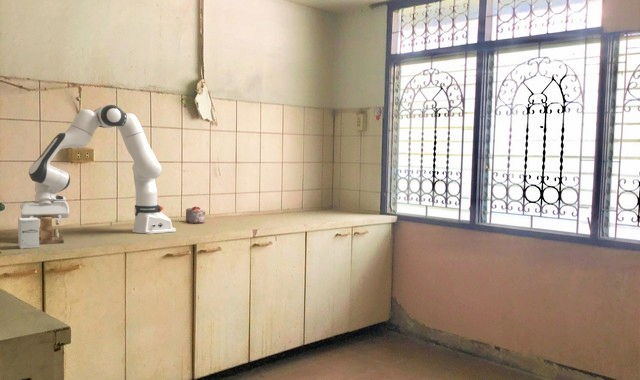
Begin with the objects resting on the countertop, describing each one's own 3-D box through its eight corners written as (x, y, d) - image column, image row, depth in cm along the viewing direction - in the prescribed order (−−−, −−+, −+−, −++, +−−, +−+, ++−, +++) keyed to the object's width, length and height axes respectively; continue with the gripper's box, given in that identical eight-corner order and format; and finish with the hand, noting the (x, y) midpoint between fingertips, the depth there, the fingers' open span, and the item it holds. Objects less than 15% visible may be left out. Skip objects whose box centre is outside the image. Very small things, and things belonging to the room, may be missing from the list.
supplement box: (20, 249, 227) (19, 219, 226) (18, 246, 233) (17, 217, 232) (39, 247, 231) (39, 219, 230) (36, 244, 237) (36, 216, 236)
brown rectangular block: (51, 237, 250) (51, 216, 249) (52, 239, 244) (51, 218, 243) (40, 237, 248) (40, 216, 247) (40, 240, 242) (40, 218, 241)
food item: (207, 223, 319) (207, 207, 318) (195, 224, 313) (195, 208, 312) (194, 220, 328) (195, 205, 328) (183, 221, 323) (183, 205, 322)
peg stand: (62, 238, 255) (62, 228, 255) (63, 243, 243) (63, 233, 243) (29, 239, 249) (28, 229, 248) (28, 244, 236) (28, 234, 236)
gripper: (20, 197, 245) (20, 221, 238) (68, 196, 255) (70, 219, 247) (20, 206, 250) (20, 229, 242) (68, 204, 259) (69, 227, 252)
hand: (46, 224), depth 245 cm, fingers open, 8 cm apart
